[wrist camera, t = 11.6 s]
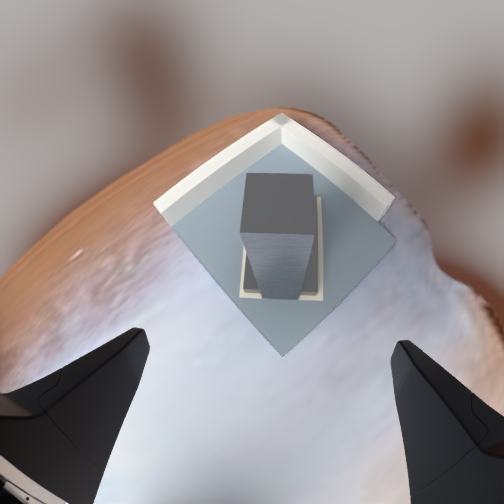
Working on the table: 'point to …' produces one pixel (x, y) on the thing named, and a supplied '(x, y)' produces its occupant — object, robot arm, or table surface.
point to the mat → (329, 250)
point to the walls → (261, 144)
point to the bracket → (280, 235)
